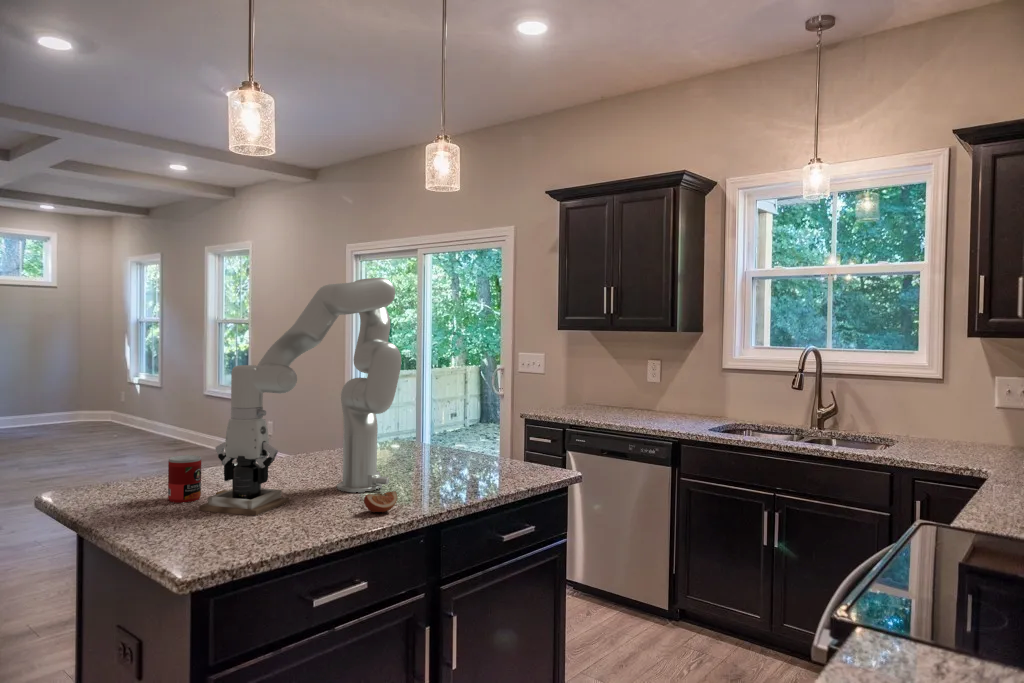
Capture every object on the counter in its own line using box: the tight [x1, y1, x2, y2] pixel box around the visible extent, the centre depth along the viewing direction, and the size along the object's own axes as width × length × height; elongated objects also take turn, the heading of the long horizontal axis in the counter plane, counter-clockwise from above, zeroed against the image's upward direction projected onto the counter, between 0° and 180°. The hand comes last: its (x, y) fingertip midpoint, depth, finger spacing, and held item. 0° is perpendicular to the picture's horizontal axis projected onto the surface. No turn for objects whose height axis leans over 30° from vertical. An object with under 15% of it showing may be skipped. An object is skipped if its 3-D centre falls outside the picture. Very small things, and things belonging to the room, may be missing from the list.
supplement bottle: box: [231, 456, 262, 500], centre depth 169 cm, size 7×7×12 cm
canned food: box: [167, 454, 202, 504], centre depth 174 cm, size 8×8×11 cm
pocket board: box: [198, 487, 290, 516], centre depth 169 cm, size 16×14×3 cm
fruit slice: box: [363, 490, 398, 513], centre depth 165 cm, size 8×7×5 cm
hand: (245, 481), depth 169 cm, fingers open, 9 cm apart
